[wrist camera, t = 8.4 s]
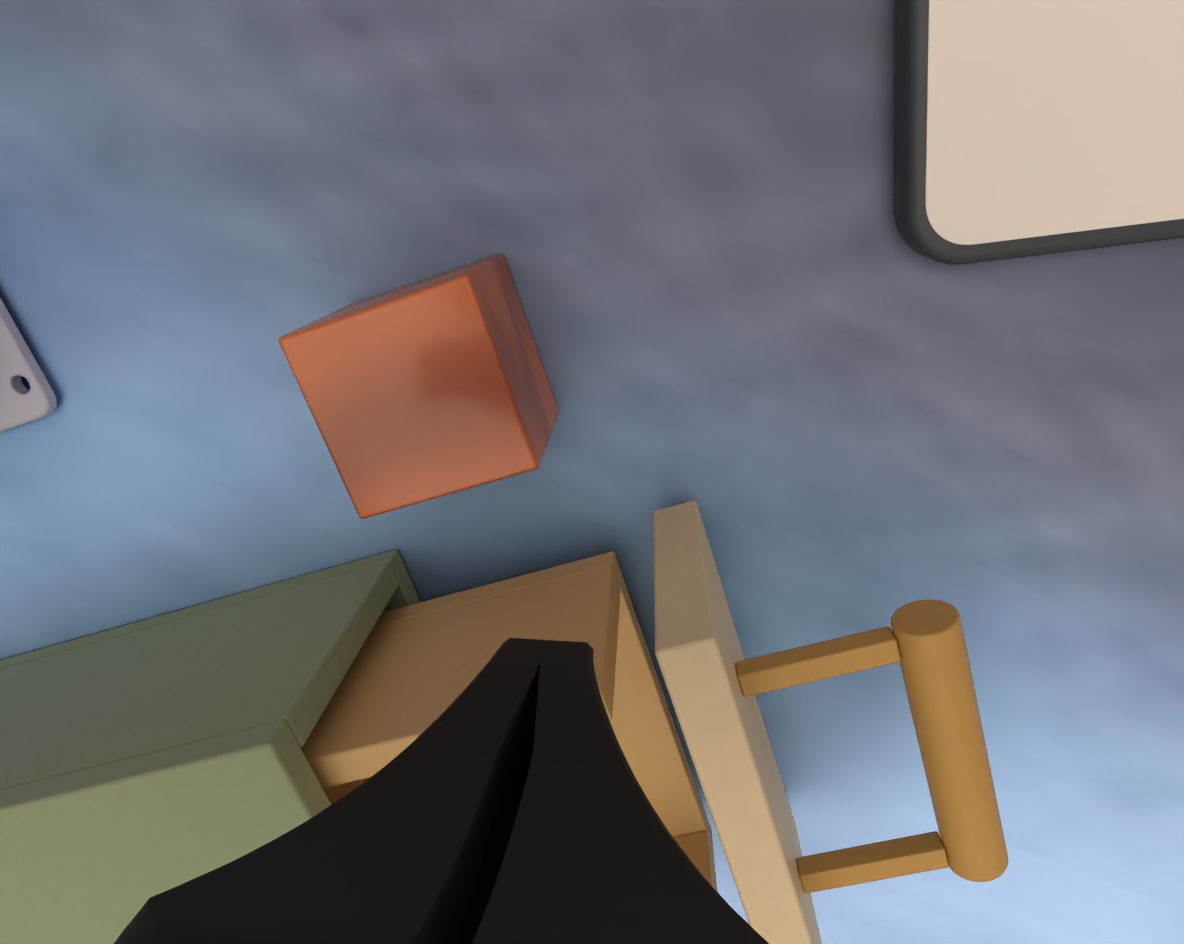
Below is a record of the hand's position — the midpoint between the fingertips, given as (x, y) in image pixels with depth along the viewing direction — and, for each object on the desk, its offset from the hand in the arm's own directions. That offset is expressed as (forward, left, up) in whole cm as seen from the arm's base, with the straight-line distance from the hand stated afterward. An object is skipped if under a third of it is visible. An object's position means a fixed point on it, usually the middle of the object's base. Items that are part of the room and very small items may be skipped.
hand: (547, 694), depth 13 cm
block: (-4, -2, -10) cm, 11 cm away
